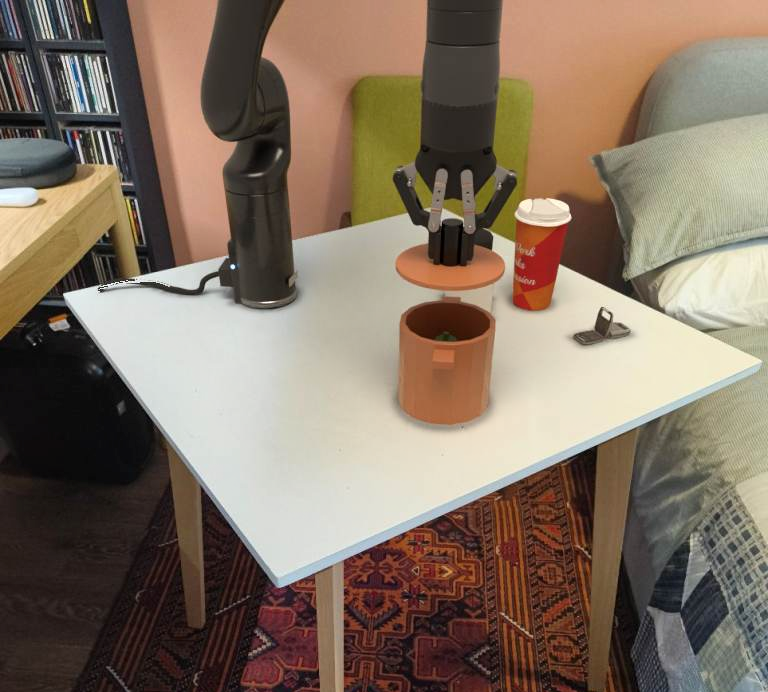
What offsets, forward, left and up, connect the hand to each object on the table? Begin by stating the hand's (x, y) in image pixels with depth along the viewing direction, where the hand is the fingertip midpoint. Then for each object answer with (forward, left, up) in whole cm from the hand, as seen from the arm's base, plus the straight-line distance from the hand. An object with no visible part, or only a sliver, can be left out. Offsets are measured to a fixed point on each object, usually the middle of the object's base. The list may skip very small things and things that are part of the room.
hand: (450, 261), depth 87 cm
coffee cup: (+12, +31, -19) cm, 38 cm away
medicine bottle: (+2, +28, -19) cm, 34 cm away
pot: (0, 0, -19) cm, 19 cm away
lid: (0, 0, -1) cm, 1 cm away
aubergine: (0, 0, -18) cm, 18 cm away
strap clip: (+22, +21, -19) cm, 36 cm away
